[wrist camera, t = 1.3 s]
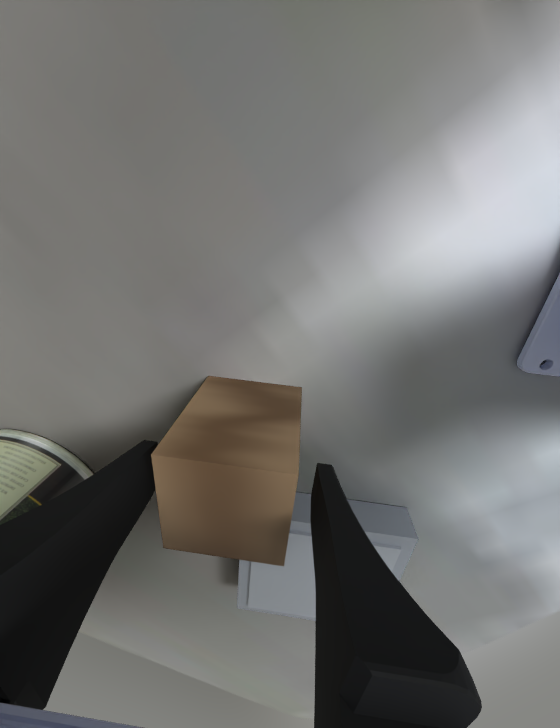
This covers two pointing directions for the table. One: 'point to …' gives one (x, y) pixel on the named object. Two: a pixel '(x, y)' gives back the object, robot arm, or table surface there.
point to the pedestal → (297, 577)
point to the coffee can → (34, 472)
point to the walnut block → (231, 471)
